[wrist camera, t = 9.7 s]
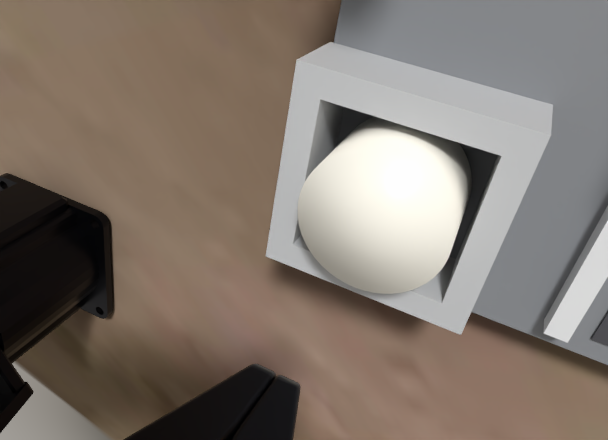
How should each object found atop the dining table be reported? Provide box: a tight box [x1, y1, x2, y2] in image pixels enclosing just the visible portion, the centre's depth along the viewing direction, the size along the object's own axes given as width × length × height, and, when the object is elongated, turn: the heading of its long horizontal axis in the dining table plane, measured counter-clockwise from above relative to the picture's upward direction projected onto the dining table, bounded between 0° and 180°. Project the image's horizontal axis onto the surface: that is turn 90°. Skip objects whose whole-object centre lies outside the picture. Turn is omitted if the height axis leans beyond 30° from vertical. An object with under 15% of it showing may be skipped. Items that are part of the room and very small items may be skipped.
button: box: [297, 117, 472, 294], centre depth 15 cm, size 4×4×3 cm
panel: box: [266, 0, 608, 365], centre depth 13 cm, size 14×14×4 cm
